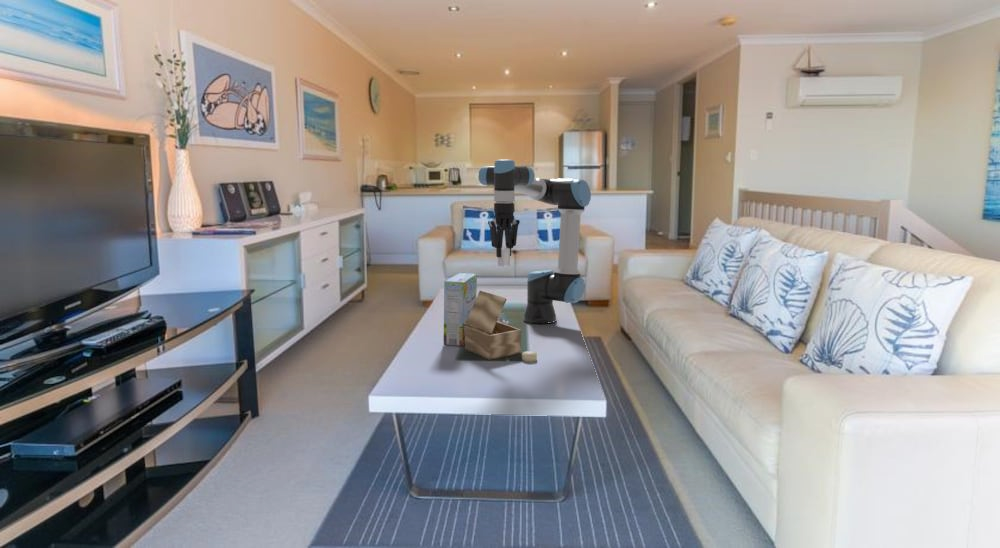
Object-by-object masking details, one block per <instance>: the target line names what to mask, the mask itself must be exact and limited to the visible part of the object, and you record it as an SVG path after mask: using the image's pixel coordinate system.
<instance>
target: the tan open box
mask: <svg viewBox="0 0 1000 548" xmlns="http://www.w3.org/2000/svg"><path fill="white" fill-rule="evenodd" d="M471 326H472V325H471ZM473 327H474V326H473ZM475 328H477V327H475ZM478 329H479V328H478ZM480 330H482V329H480ZM483 331H485V330H483ZM485 332H487V331H485ZM488 333H490V332H488ZM464 349H465V350H466V351H468V352H470V353H473V354H475V355H477V356H479V357H481V358H483V359H486V360H489V361H491V360H495V359H500V358H505V357H508V356H509V357H510V356H513V355H518V354H521V353H522V329H520V328H517V327H514V326H511V325H508V324H506V323H503V322H500V321H498V320H497V322H496V325H495V327H494V329H493V331H492V333H491V335H488V334H485V333H483V332H480V331H478V330H475V329H472V328H470V327H467V326H465V344H464Z"/></svg>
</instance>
